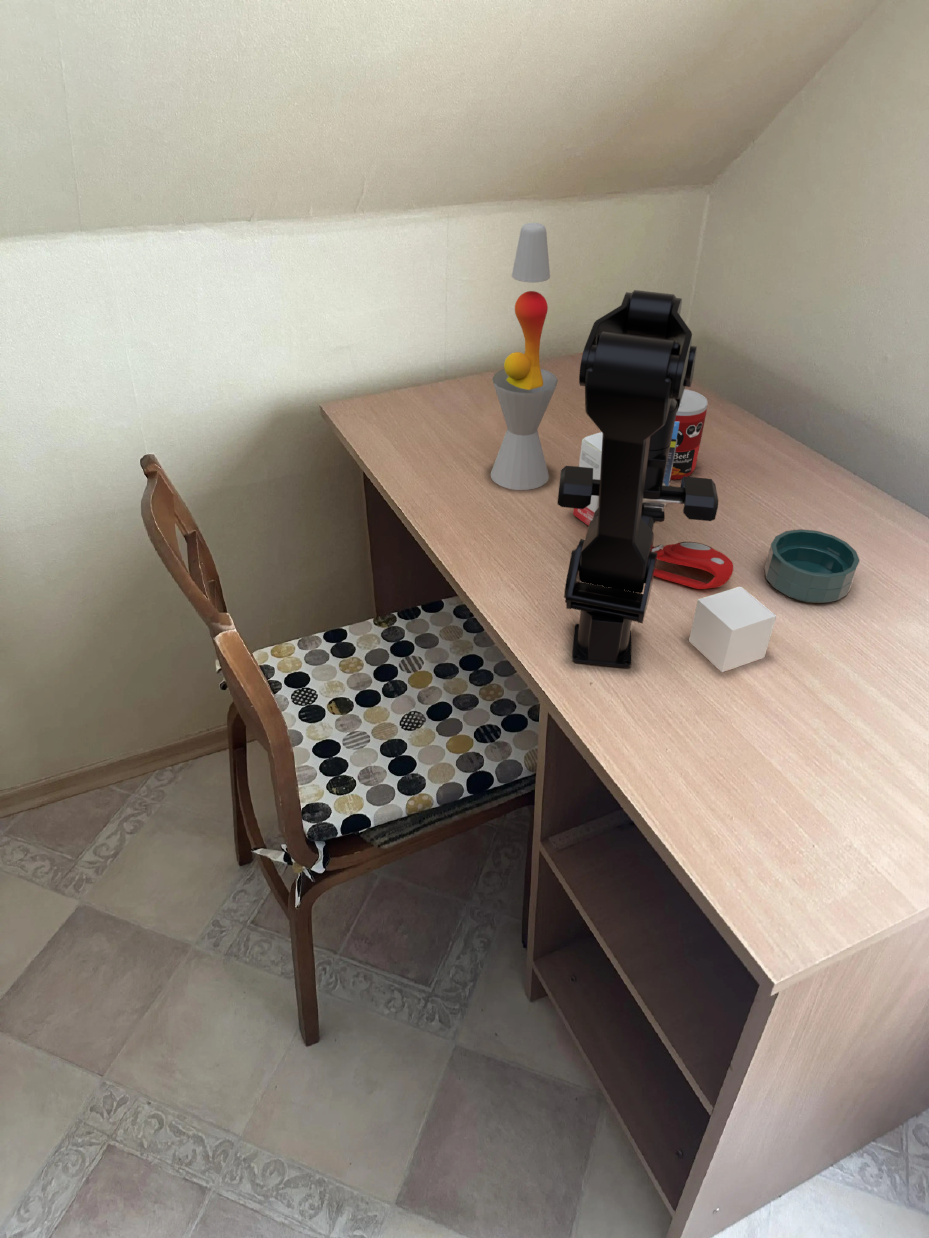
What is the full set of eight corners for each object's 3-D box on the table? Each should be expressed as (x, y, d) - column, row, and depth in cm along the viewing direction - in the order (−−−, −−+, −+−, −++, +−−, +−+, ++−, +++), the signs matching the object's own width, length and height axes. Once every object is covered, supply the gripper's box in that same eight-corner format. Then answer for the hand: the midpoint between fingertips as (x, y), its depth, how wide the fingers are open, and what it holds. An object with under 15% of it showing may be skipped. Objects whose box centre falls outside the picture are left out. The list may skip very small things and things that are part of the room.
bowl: (855, 610, 108) (866, 580, 105) (768, 602, 109) (777, 571, 106) (840, 562, 116) (850, 533, 113) (759, 555, 117) (767, 526, 114)
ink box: (594, 531, 121) (604, 452, 113) (571, 515, 124) (579, 437, 116) (642, 513, 124) (654, 436, 117) (618, 498, 128) (629, 422, 120)
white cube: (721, 672, 98) (732, 630, 95) (688, 641, 103) (697, 599, 99) (764, 657, 101) (776, 615, 97) (730, 627, 105) (740, 585, 101)
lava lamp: (526, 455, 137) (541, 212, 116) (562, 480, 131) (585, 229, 110) (477, 470, 133) (483, 221, 112) (512, 496, 127) (525, 239, 106)
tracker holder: (695, 533, 118) (752, 554, 110) (689, 566, 120) (745, 588, 112) (624, 538, 112) (680, 560, 104) (619, 572, 114) (673, 596, 106)
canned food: (639, 475, 133) (649, 406, 126) (648, 451, 139) (658, 384, 132) (691, 484, 131) (704, 415, 124) (698, 460, 137) (711, 392, 130)
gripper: (721, 415, 109) (696, 524, 119) (568, 402, 110) (556, 510, 120) (730, 459, 100) (703, 572, 110) (563, 444, 102) (551, 557, 112)
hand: (626, 550), depth 113 cm, fingers closed
